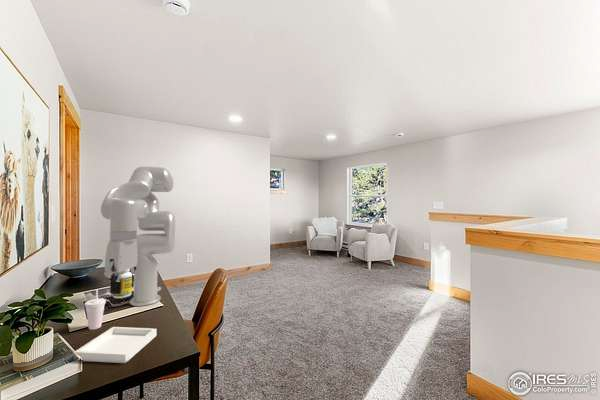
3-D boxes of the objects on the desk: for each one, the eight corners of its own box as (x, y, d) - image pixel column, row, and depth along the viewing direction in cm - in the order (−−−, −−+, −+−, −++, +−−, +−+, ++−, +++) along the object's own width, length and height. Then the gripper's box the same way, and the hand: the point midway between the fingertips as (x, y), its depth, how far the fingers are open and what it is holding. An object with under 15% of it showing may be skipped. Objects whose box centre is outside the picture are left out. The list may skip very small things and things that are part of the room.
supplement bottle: (119, 292, 93) (120, 265, 93) (135, 293, 93) (135, 265, 94) (108, 298, 88) (109, 268, 88) (125, 298, 88) (125, 269, 88)
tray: (112, 333, 97) (113, 326, 97) (156, 335, 96) (156, 328, 96) (73, 360, 81) (73, 352, 81) (125, 363, 80) (125, 354, 80)
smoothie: (93, 332, 98) (94, 293, 98) (79, 330, 99) (80, 292, 99) (109, 324, 104) (110, 287, 104) (95, 322, 105) (96, 286, 105)
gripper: (129, 233, 100) (128, 282, 99) (92, 239, 82) (90, 299, 82) (149, 233, 99) (148, 283, 99) (115, 240, 82) (114, 300, 82)
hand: (122, 289), depth 91 cm, fingers closed on supplement bottle, 5 cm apart
